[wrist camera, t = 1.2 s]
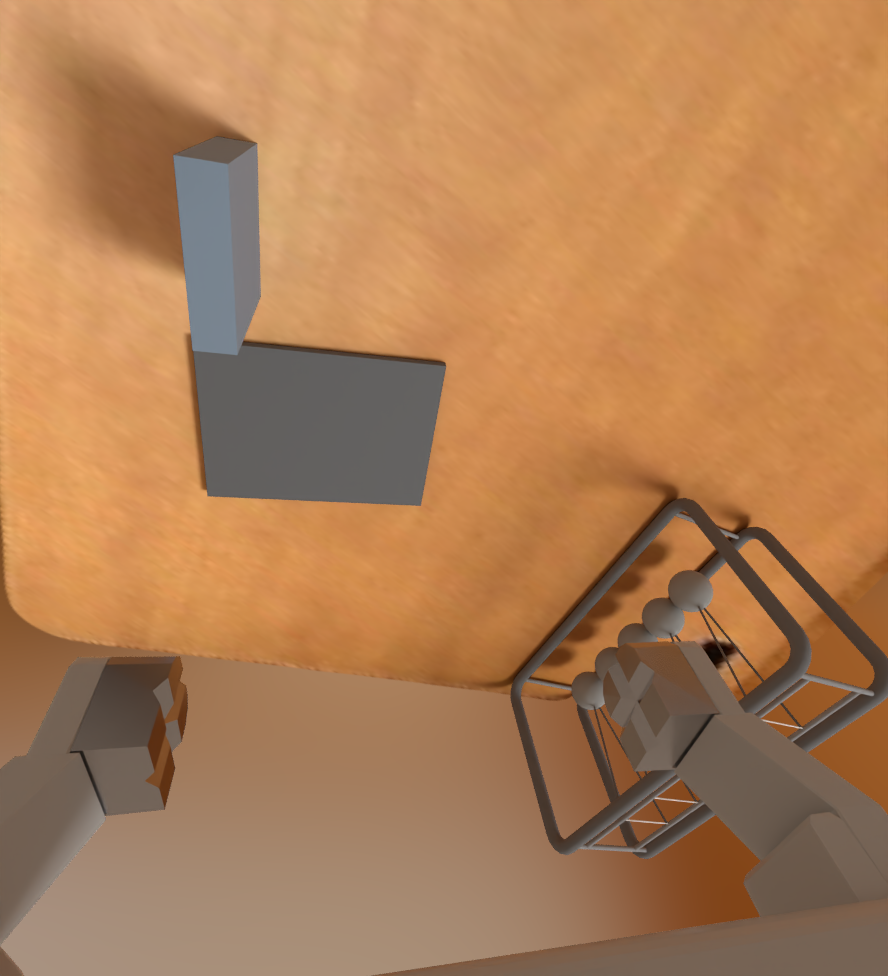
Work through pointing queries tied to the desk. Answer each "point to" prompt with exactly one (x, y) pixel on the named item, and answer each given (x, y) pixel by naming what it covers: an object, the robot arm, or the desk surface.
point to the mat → (316, 424)
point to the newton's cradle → (668, 621)
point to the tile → (219, 240)
